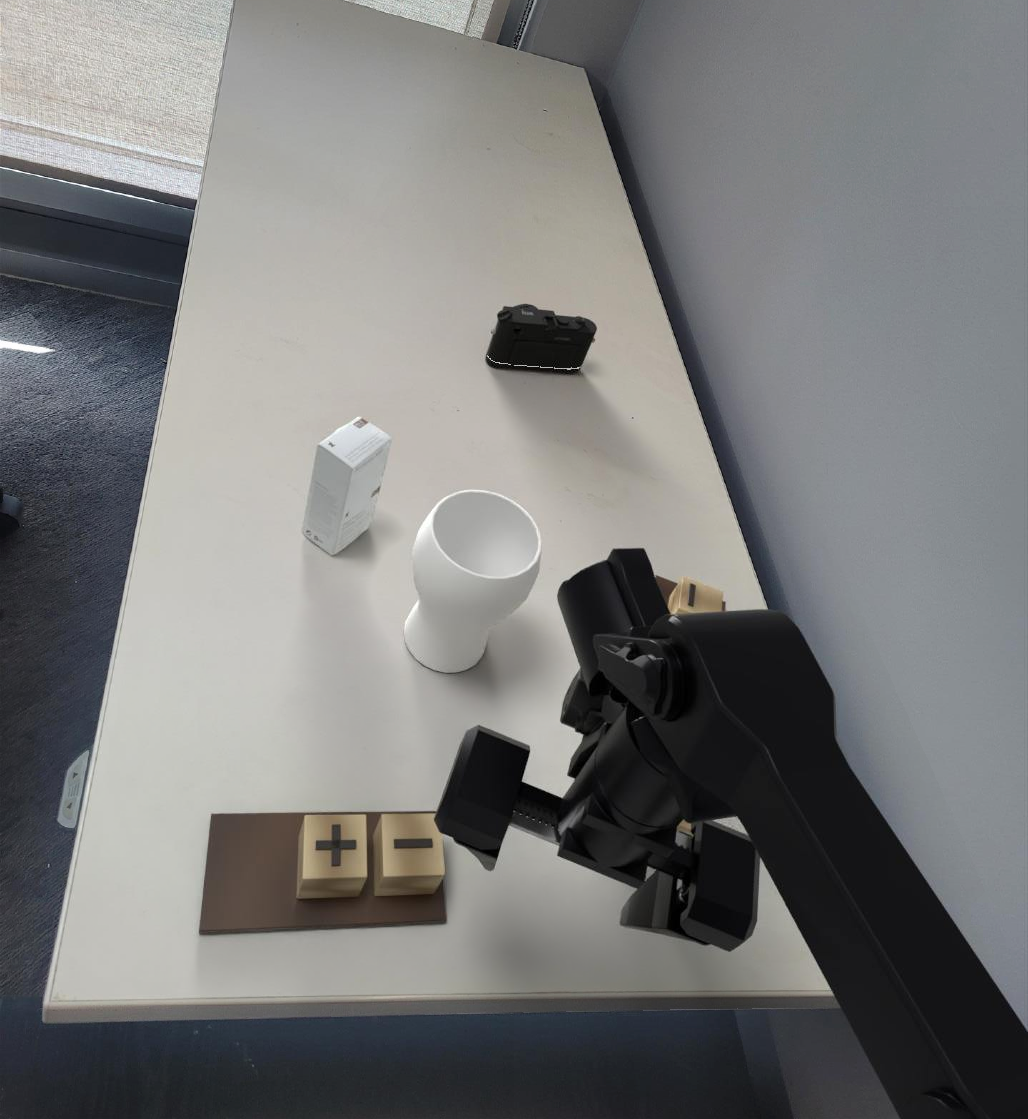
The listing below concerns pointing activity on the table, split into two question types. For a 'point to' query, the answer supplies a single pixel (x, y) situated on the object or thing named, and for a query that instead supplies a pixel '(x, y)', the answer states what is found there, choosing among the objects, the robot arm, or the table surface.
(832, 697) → the robot arm
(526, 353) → the camera
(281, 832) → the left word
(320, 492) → the cosmetic box
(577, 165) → the table surface
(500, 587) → the cup
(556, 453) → the table surface
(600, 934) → the table surface
